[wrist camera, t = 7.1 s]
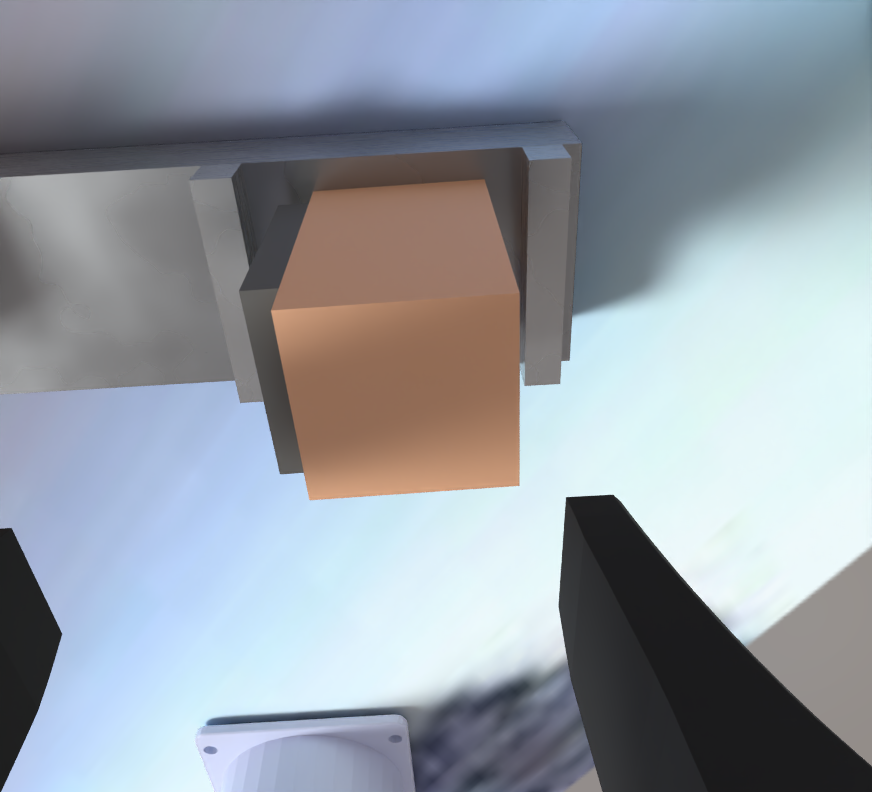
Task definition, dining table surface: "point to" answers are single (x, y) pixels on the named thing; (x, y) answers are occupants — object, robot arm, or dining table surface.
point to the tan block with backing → (388, 340)
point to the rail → (242, 245)
